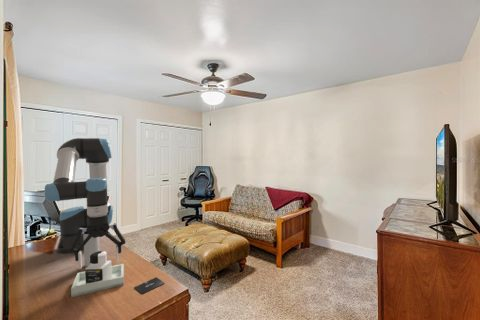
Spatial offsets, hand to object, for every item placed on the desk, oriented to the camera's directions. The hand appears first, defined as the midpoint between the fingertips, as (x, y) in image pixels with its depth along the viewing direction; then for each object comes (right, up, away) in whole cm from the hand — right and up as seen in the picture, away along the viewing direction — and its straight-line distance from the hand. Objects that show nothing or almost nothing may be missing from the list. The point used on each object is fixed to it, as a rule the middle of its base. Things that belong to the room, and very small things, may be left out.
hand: (99, 264), depth 100 cm
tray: (0, -8, 0) cm, 8 cm away
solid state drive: (+22, -8, -3) cm, 24 cm away
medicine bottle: (0, -7, 0) cm, 7 cm away
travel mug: (-13, -8, +16) cm, 22 cm away
